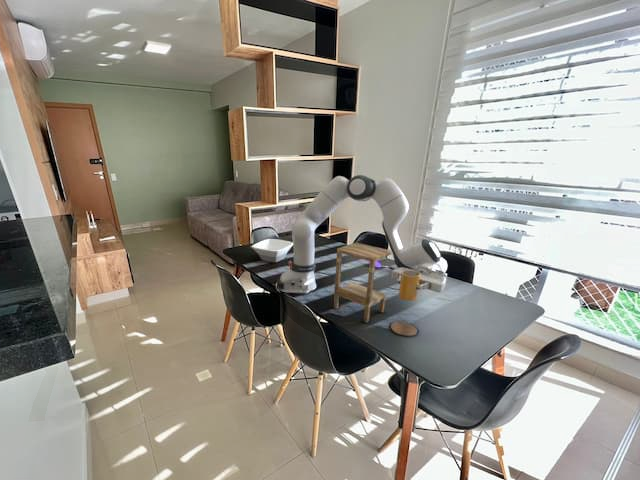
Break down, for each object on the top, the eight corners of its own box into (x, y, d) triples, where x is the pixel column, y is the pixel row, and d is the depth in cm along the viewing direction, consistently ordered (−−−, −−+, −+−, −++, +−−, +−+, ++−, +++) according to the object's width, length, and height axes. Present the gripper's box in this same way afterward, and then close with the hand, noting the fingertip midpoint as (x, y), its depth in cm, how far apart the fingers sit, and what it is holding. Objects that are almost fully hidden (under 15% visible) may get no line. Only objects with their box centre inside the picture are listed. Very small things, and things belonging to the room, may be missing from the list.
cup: (403, 300, 111) (406, 277, 107) (395, 293, 117) (398, 270, 113) (419, 300, 111) (424, 276, 108) (411, 292, 117) (415, 269, 114)
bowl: (296, 256, 207) (296, 242, 203) (277, 267, 187) (277, 252, 183) (269, 250, 219) (268, 237, 215) (248, 260, 199) (247, 246, 196)
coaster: (397, 336, 114) (397, 336, 114) (386, 323, 124) (386, 322, 123) (421, 335, 115) (421, 334, 115) (409, 322, 124) (409, 321, 124)
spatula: (406, 273, 174) (407, 269, 173) (400, 276, 170) (401, 272, 169) (373, 262, 191) (373, 259, 191) (366, 265, 188) (367, 261, 187)
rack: (366, 323, 124) (373, 258, 113) (333, 307, 137) (337, 248, 125) (383, 311, 133) (391, 250, 122) (351, 298, 145) (355, 242, 134)
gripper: (401, 261, 126) (384, 270, 118) (451, 274, 112) (437, 285, 103) (399, 275, 128) (383, 284, 120) (448, 289, 114) (434, 300, 106)
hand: (408, 284), depth 112 cm, fingers closed on cup, 6 cm apart
